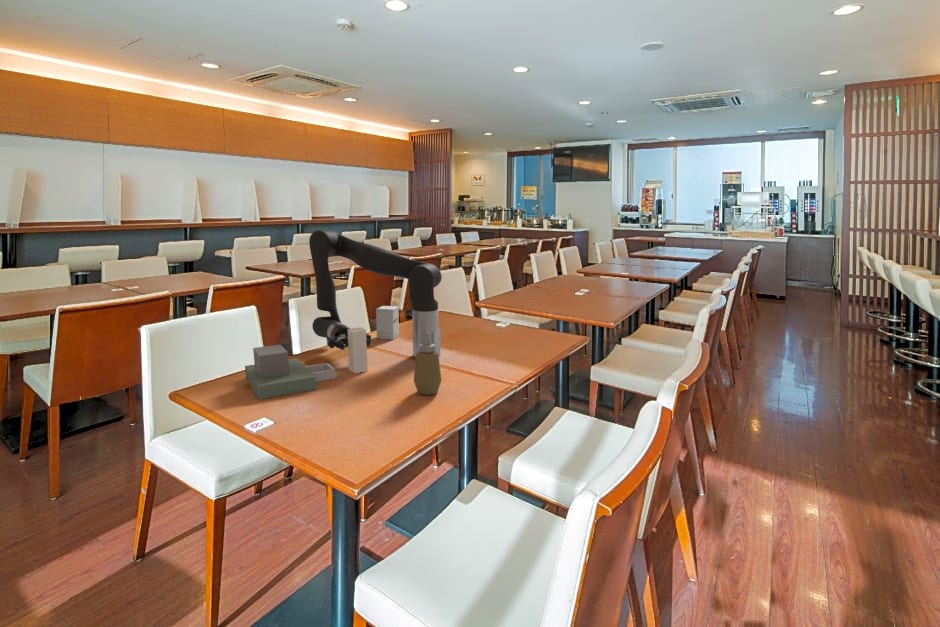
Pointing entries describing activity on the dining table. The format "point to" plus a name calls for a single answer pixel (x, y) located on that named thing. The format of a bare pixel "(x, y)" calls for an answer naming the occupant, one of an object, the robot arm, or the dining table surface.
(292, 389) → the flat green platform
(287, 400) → the dining table surface
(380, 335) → the supplement box
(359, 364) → the tall white pillar block
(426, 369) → the squeeze bottle
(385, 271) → the robot arm
